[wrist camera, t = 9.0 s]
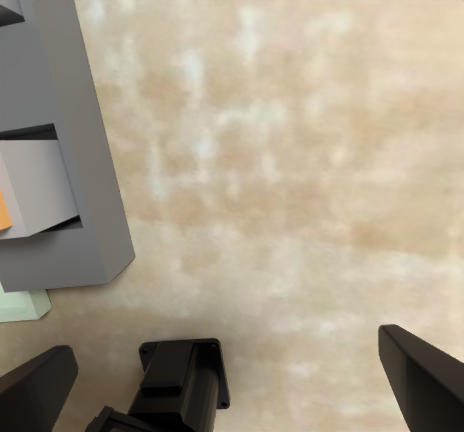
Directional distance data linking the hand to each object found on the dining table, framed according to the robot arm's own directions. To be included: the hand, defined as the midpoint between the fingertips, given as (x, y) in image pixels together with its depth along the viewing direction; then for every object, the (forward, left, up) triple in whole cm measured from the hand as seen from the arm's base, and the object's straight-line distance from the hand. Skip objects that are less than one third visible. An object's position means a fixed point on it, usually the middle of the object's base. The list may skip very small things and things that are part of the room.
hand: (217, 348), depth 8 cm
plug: (+5, +12, -11) cm, 17 cm away
